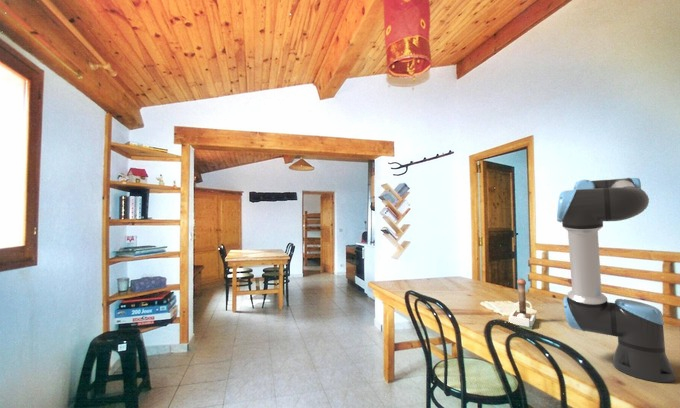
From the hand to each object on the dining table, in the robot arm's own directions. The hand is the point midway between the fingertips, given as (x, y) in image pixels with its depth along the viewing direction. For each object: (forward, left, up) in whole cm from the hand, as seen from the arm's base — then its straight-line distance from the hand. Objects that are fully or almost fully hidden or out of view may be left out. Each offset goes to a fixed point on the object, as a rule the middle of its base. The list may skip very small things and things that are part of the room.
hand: (586, 257), depth 142 cm
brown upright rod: (+1, +27, -34) cm, 43 cm away
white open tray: (-1, +27, -35) cm, 44 cm away
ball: (-4, +27, -32) cm, 42 cm away
